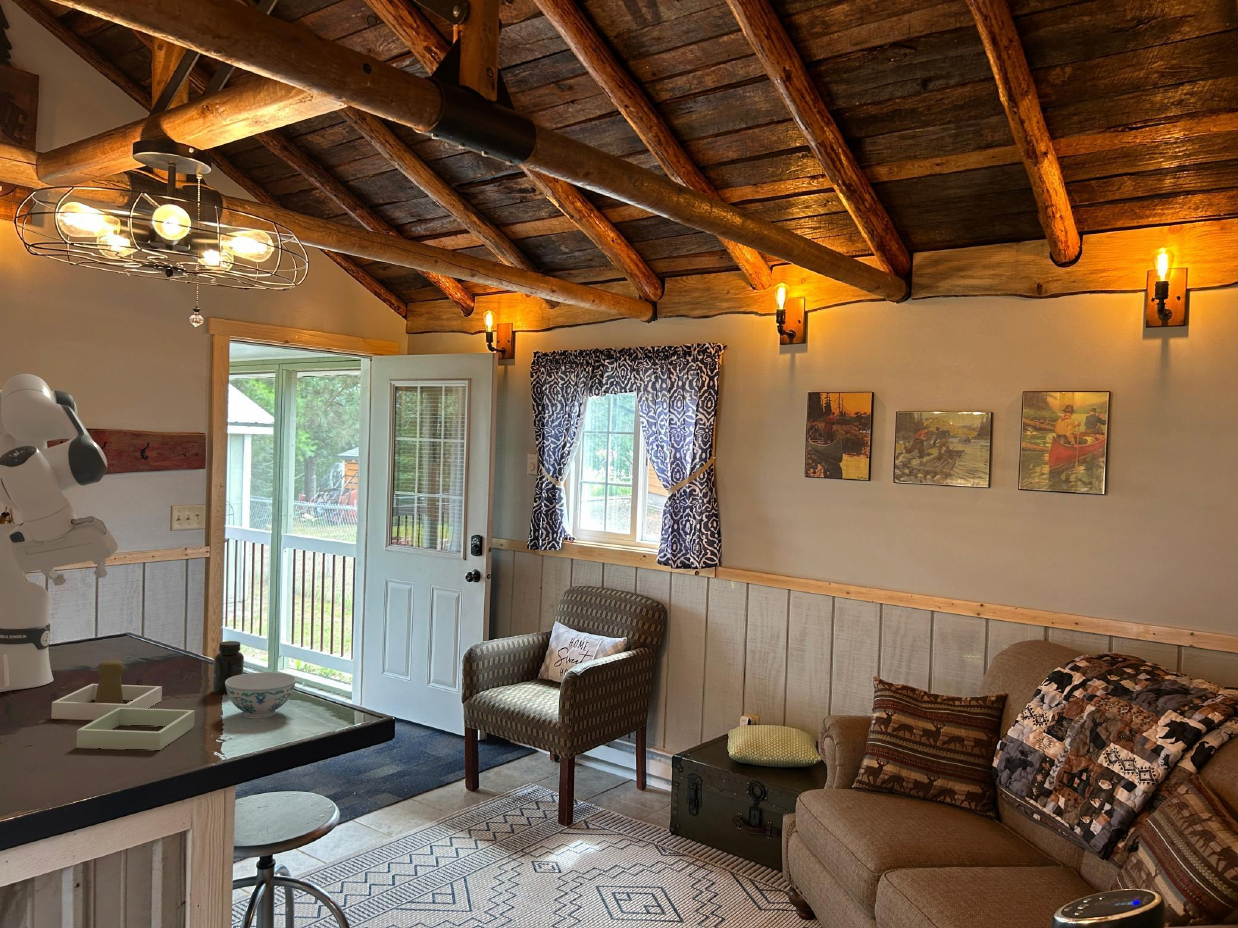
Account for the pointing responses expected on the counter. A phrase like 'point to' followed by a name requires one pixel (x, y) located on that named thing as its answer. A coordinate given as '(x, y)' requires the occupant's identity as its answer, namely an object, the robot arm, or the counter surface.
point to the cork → (110, 682)
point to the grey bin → (82, 710)
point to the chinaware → (260, 692)
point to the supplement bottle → (227, 665)
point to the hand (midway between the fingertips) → (81, 580)
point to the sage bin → (106, 738)
